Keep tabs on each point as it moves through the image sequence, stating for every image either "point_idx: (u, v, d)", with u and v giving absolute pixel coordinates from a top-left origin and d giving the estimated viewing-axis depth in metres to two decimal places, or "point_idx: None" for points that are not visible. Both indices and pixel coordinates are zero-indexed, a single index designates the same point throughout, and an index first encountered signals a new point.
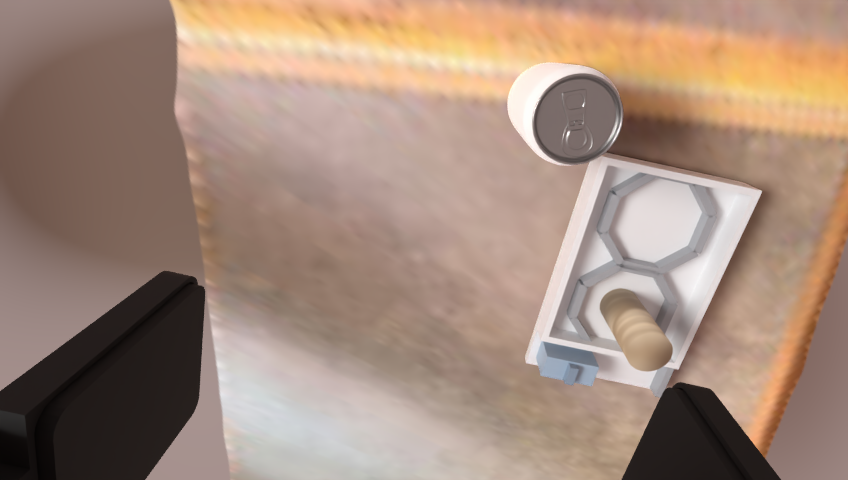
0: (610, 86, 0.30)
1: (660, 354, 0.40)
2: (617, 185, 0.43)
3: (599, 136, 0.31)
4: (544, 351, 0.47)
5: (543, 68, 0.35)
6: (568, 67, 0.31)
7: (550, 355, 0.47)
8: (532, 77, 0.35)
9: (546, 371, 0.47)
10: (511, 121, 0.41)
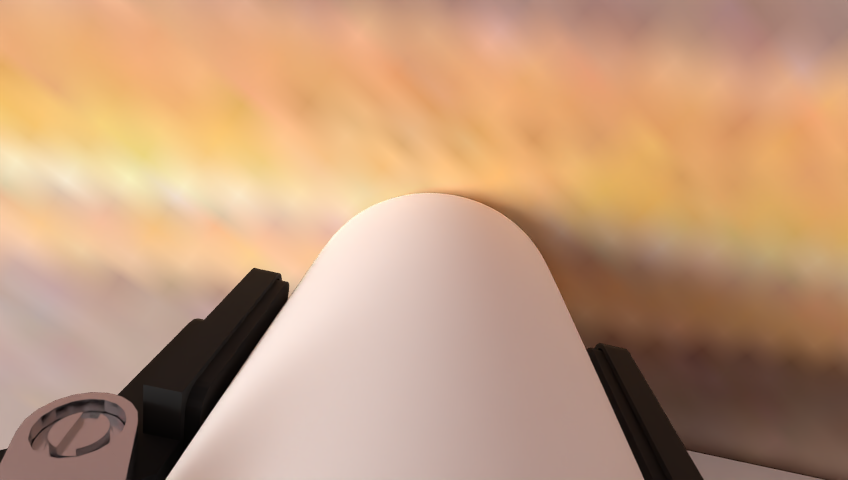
0: None
1: None
2: None
3: None
4: None
5: (309, 325, 0.07)
6: None
7: None
8: (231, 392, 0.06)
9: None
10: None
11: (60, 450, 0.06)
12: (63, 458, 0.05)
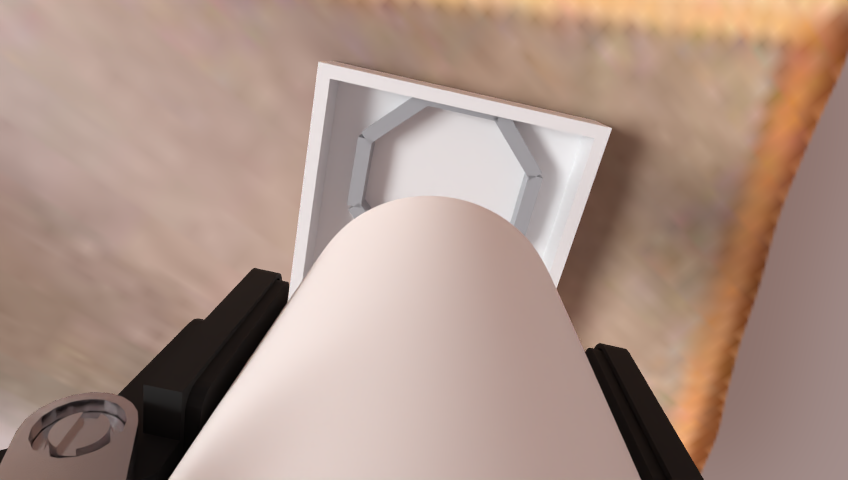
0: None
1: None
2: (373, 122, 0.25)
3: None
4: None
5: (308, 331, 0.07)
6: None
7: None
8: (229, 398, 0.06)
9: None
10: None
11: (60, 450, 0.06)
12: (63, 458, 0.05)
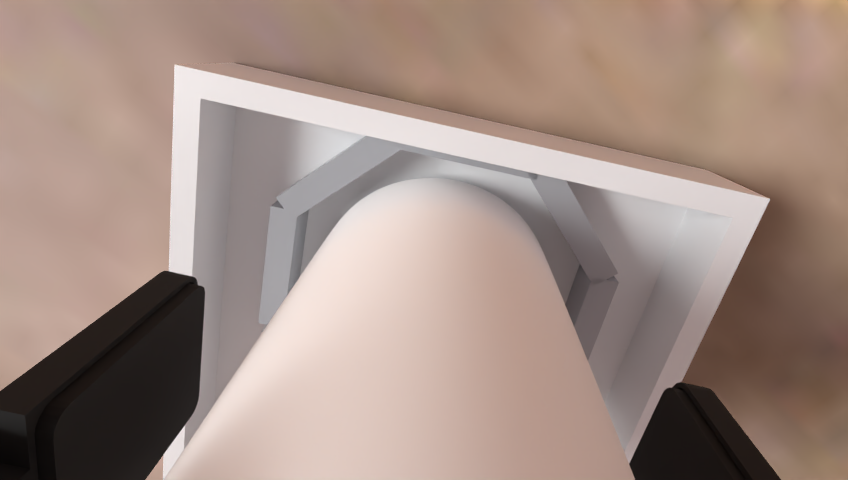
0: None
1: None
2: (303, 176, 0.13)
3: None
4: None
5: (322, 293, 0.08)
6: None
7: None
8: (256, 349, 0.07)
9: None
10: None
11: None
12: None
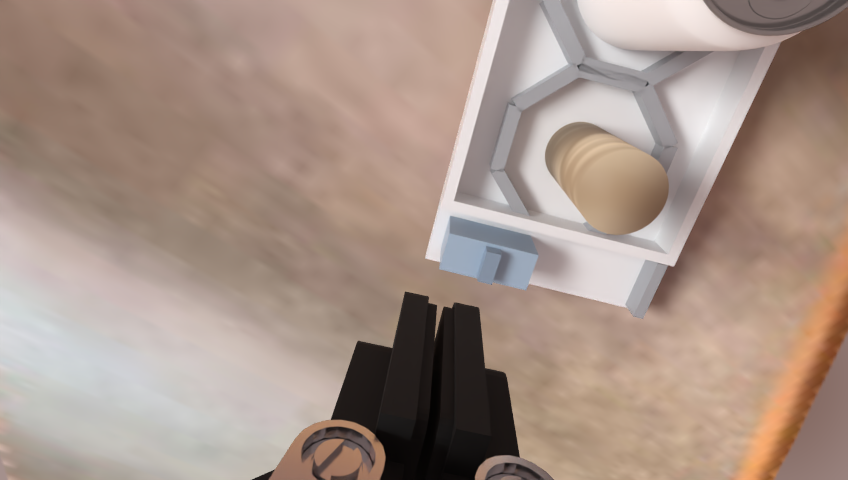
0: None
1: (644, 198, 0.20)
2: None
3: None
4: (448, 229, 0.28)
5: None
6: None
7: (456, 232, 0.27)
8: None
9: (448, 261, 0.27)
10: (584, 8, 0.24)
11: (320, 471, 0.06)
12: None
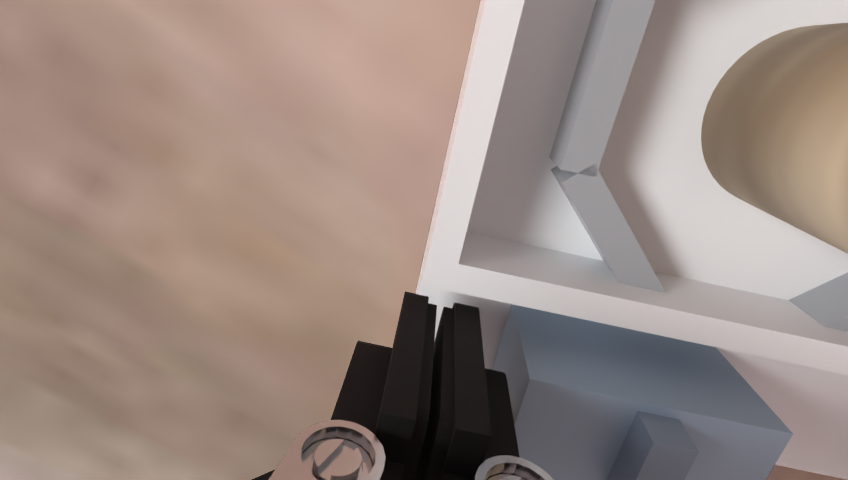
0: None
1: None
2: None
3: None
4: (519, 354, 0.10)
5: None
6: None
7: (545, 370, 0.09)
8: None
9: (526, 450, 0.10)
10: None
11: (320, 471, 0.06)
12: None
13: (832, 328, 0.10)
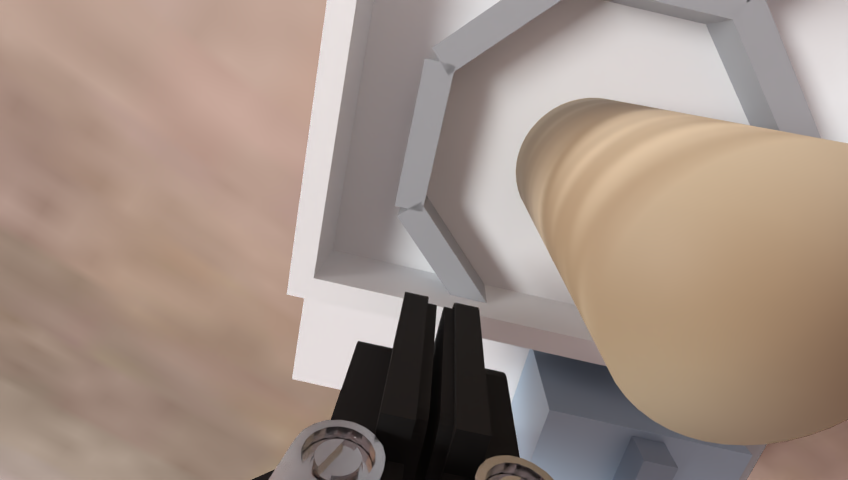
0: None
1: None
2: None
3: None
4: (539, 389, 0.13)
5: None
6: None
7: (561, 403, 0.12)
8: None
9: (545, 465, 0.12)
10: None
11: (320, 471, 0.06)
12: None
13: None
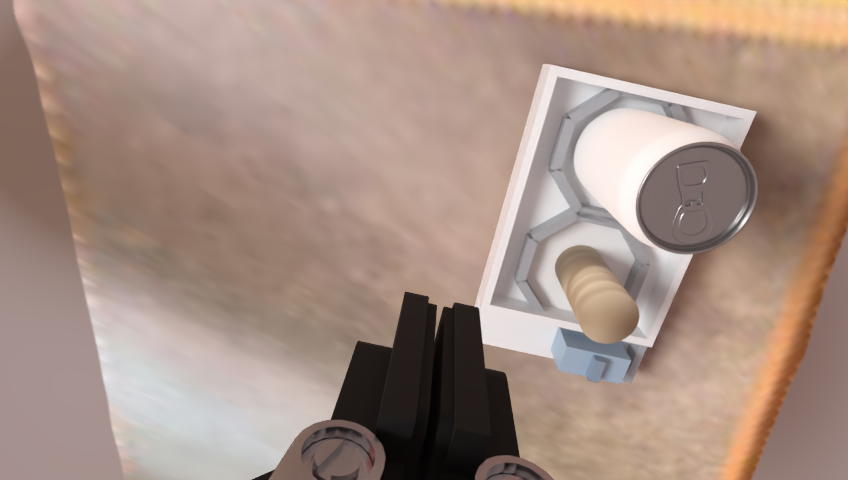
0: (744, 158, 0.23)
1: (623, 320, 0.30)
2: (573, 108, 0.34)
3: (722, 219, 0.24)
4: (562, 340, 0.38)
5: (634, 123, 0.28)
6: (682, 130, 0.24)
7: (570, 344, 0.37)
8: (622, 135, 0.28)
9: (565, 365, 0.38)
10: (579, 178, 0.34)
11: (320, 471, 0.06)
12: None
13: None
